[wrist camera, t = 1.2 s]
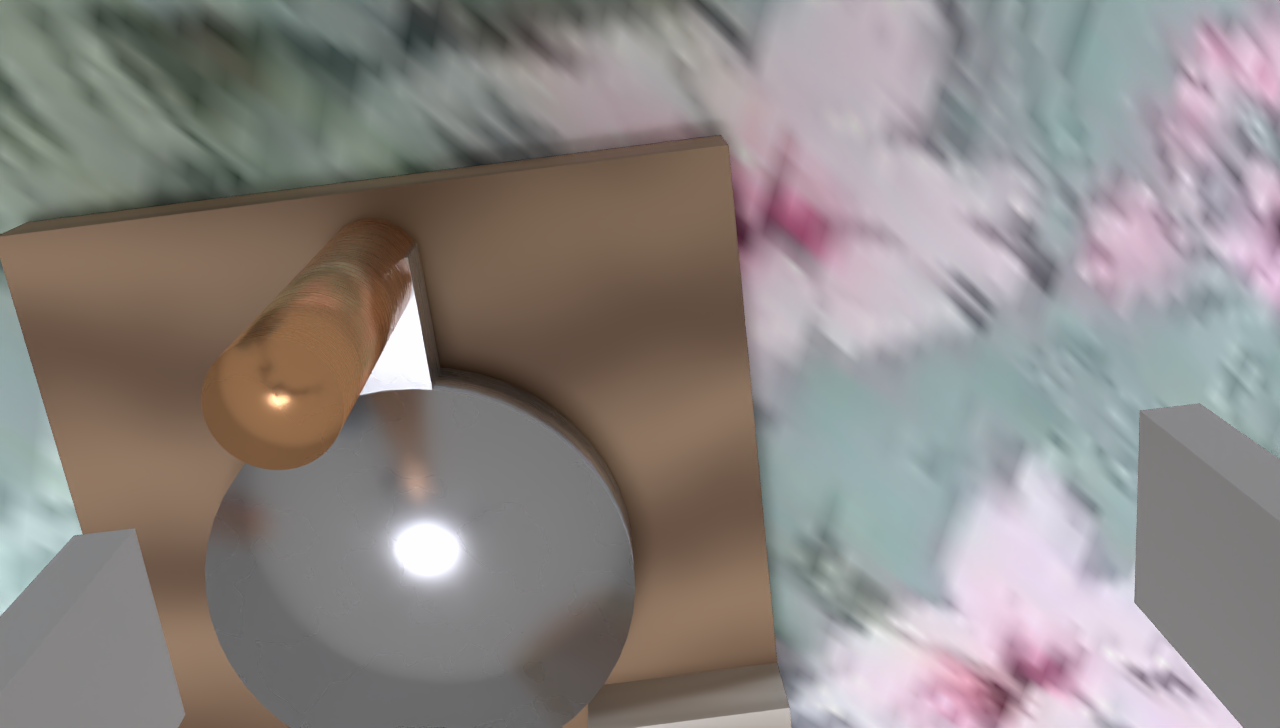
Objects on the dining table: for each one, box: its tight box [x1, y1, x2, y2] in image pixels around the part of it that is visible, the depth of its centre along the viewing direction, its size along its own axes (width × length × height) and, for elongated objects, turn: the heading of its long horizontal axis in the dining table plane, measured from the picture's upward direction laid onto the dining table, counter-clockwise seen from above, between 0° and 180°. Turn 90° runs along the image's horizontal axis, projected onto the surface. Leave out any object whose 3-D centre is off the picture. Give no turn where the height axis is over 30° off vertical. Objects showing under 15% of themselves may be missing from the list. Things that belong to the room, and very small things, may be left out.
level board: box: [0, 135, 791, 728], centre depth 35 cm, size 22×20×4 cm
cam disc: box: [201, 218, 635, 728], centre depth 29 cm, size 16×12×11 cm
